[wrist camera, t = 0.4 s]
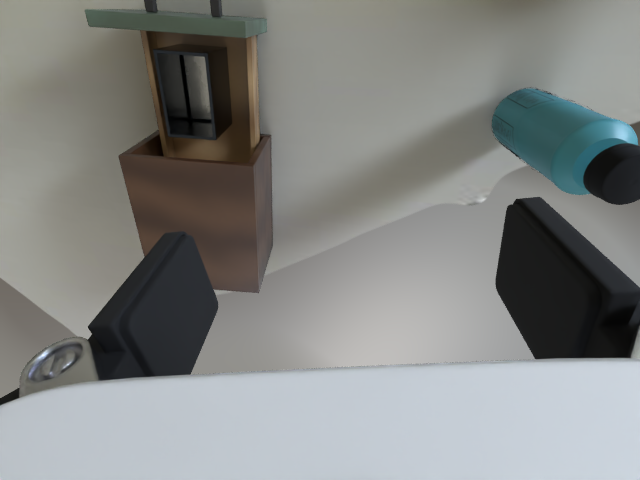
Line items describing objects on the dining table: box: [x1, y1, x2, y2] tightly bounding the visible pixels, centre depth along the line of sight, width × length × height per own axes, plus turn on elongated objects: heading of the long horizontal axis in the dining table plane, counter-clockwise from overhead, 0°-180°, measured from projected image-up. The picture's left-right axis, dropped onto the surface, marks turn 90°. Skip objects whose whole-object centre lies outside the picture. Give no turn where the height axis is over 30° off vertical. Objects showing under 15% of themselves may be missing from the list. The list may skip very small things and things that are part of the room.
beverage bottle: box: [492, 87, 640, 205], centre depth 33 cm, size 6×7×20 cm
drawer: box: [85, 0, 267, 163], centre depth 36 cm, size 22×13×10 cm, turn 177°
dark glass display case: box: [153, 44, 232, 140], centre depth 37 cm, size 8×5×6 cm, turn 176°
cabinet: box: [119, 130, 273, 293], centre depth 44 cm, size 17×14×11 cm
